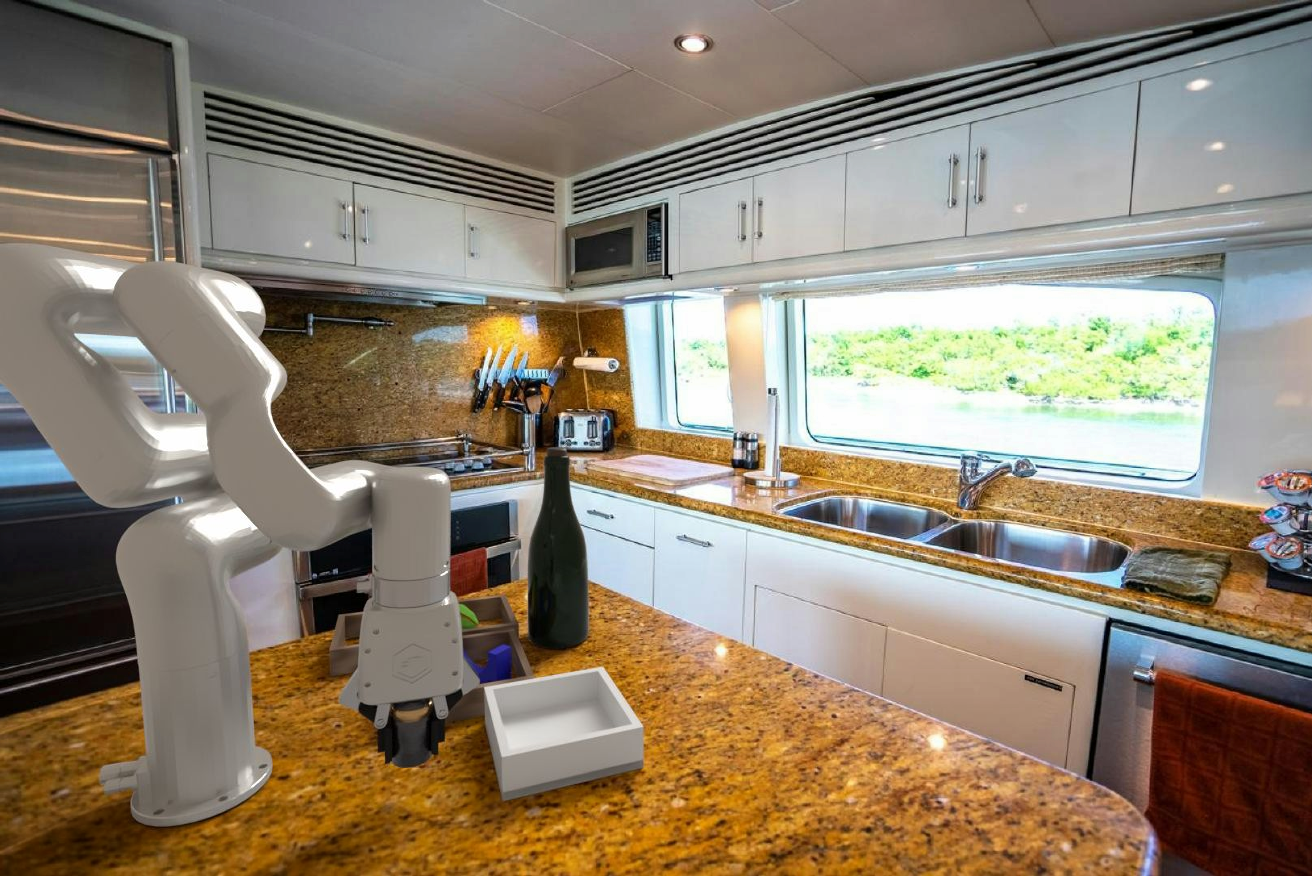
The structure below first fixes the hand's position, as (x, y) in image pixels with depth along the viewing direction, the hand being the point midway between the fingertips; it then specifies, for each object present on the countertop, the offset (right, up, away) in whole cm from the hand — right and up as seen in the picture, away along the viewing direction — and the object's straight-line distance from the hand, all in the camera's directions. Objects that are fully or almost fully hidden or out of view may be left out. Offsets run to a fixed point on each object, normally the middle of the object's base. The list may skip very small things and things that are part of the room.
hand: (411, 750), depth 68 cm
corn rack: (-12, -1, +39) cm, 41 cm away
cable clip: (-1, -3, +26) cm, 26 cm away
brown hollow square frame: (-2, -3, +24) cm, 24 cm away
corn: (-13, -1, +38) cm, 41 cm away
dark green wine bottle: (+9, -1, +41) cm, 42 cm away
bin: (+14, -4, +10) cm, 18 cm away
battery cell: (0, -1, 0) cm, 1 cm away
